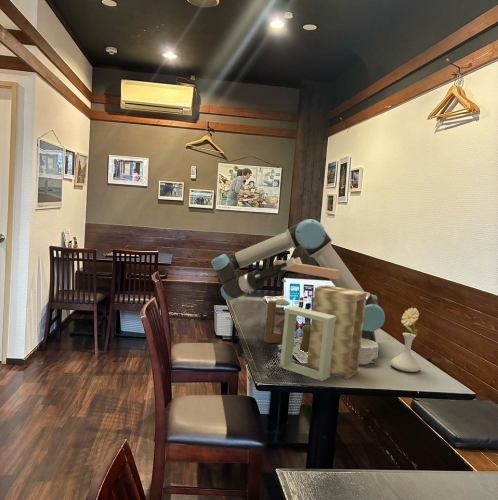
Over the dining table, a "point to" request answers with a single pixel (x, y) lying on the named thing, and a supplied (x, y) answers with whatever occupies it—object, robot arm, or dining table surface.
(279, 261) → the salmon orange bar
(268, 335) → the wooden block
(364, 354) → the paper bowls
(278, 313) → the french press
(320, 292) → the birch stand
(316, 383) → the dining table surface
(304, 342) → the cork
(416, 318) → the flower in vase
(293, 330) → the pale green rectangular frame
